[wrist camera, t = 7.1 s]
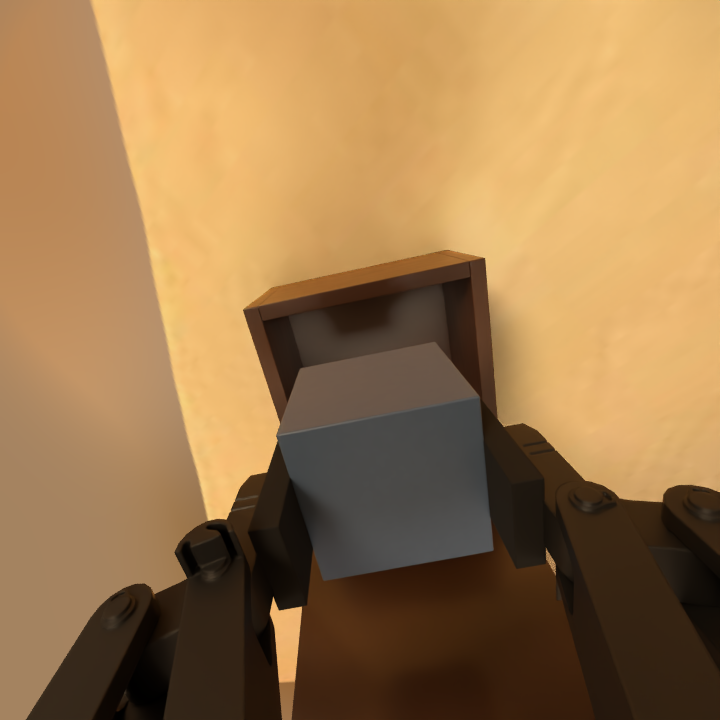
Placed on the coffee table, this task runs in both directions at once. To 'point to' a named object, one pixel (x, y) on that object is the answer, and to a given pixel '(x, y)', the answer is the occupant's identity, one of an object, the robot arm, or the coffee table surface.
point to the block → (387, 461)
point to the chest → (377, 319)
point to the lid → (439, 644)
